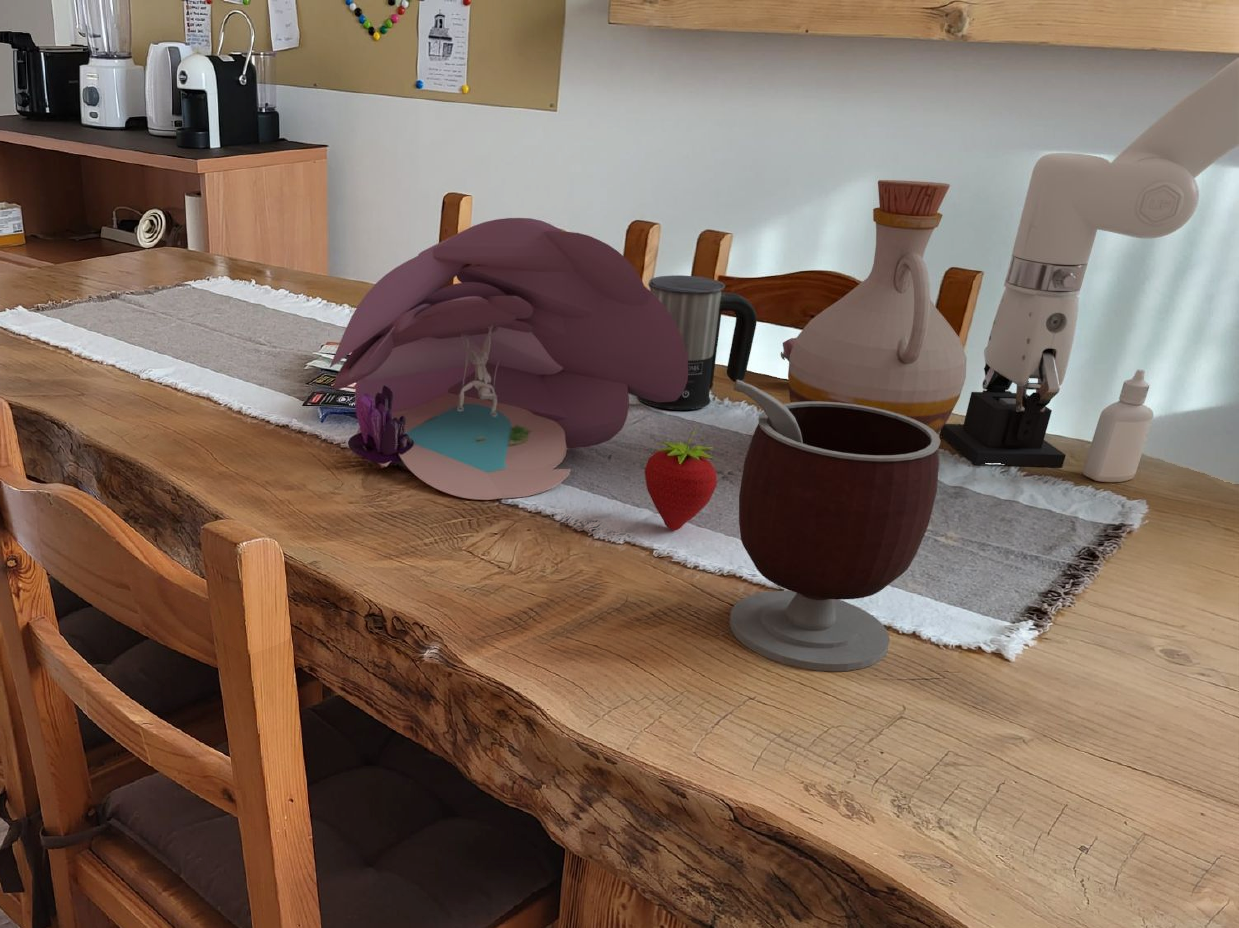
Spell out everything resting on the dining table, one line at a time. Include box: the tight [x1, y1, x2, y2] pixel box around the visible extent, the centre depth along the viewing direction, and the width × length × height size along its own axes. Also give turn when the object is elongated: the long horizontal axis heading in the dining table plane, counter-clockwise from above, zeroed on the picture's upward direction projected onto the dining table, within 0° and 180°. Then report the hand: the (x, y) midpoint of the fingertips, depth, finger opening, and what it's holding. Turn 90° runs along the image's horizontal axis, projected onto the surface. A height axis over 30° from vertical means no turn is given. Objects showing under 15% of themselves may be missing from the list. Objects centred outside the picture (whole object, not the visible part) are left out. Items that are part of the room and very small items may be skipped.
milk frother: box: [636, 274, 758, 411], centre depth 148 cm, size 14×16×15 cm
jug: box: [787, 179, 967, 435], centre depth 121 cm, size 20×18×30 cm
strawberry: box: [644, 427, 718, 531], centre depth 109 cm, size 6×8×10 cm
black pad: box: [963, 391, 1053, 448], centre depth 133 cm, size 6×6×4 cm
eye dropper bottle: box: [1082, 369, 1154, 483], centre depth 126 cm, size 4×6×12 cm
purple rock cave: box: [329, 217, 688, 501], centre depth 119 cm, size 35×24×28 cm
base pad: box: [939, 398, 1067, 468], centre depth 134 cm, size 10×10×6 cm
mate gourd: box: [729, 380, 941, 672], centre depth 89 cm, size 16×14×20 cm
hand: (1002, 433), depth 134 cm, fingers closed on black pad, 6 cm apart
